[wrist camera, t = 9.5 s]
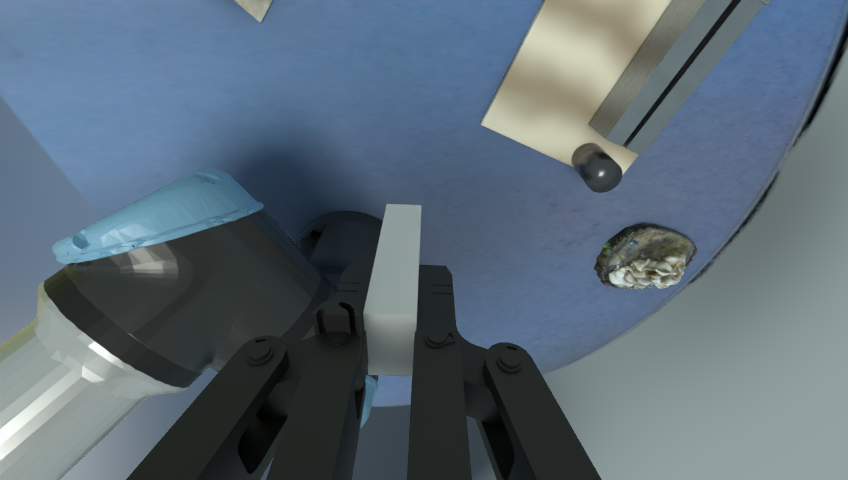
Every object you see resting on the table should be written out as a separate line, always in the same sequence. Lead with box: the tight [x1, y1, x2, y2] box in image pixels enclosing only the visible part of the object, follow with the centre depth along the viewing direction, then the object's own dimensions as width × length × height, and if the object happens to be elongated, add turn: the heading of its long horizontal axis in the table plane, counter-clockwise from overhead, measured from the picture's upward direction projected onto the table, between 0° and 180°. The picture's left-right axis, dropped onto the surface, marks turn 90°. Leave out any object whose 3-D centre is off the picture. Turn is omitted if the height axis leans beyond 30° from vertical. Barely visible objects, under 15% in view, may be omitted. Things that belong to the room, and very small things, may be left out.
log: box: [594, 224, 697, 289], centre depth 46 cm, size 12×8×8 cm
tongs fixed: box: [571, 0, 771, 193], centre depth 32 cm, size 23×4×5 cm, turn 157°
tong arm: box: [589, 0, 732, 147], centre depth 30 cm, size 18×2×5 cm, turn 158°
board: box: [481, 0, 673, 175], centre depth 33 cm, size 23×17×1 cm
